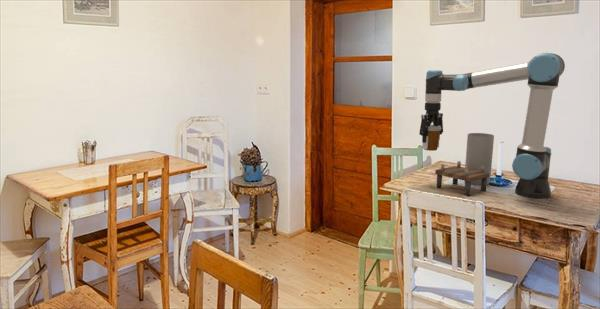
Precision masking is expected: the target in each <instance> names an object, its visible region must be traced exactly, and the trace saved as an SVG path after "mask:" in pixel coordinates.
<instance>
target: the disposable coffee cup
mask: <svg viewBox="0 0 600 309" xmlns="http://www.w3.org/2000/svg"><path fill="white" fill-rule="evenodd" d="M426 127H428V126H426ZM441 129H442V128H441V126H440V125H438V126H434V125H433V124H431V125H430V127H428V134H427V136H428V149H423V150H425V151H433V152H434V151H437V150H438V148H437V147H438V142H439V143H440V140H439V136H440V137H441V134H440V131H441Z"/></svg>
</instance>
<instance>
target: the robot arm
mask: <svg viewBox="0 0 600 309" xmlns="http://www.w3.org/2000/svg"><path fill="white" fill-rule="evenodd" d="M565 67H566V64H565V61H564V59H563V58H562V57H561V56H560V55H558V54H556V53H552V52H541V53H538V54H536V55H535V56H533V58H531V59H530V60H529V61H528V62H523V63H519V64H513V65H506V66H501V67H496V68H490V69H485V70H484V69H483V70H479V71H474V72H467V73H461V74H444V73H443V71H442V70H439V69H438V70H432V69H431V70H427V71H426V77H425V95H424V98H425V103H424V111H425V114H420V115H421V116H420V118H421V122H420V128H419V135H420V136H421V138H422V139H421V144H422V148H421V149H422V150H424V149H428V136H427V134H428V127H430V125H434V126H438V125H440V126H441V128H442V129H441V131H440V136H439V142H438V147H437V149H438V148H439V147H440V140H441V135H442V134H443V133H444V126H443V125H444V124H443V123H444V121H443V120H444V119H443V117H444V114H443V112H440V111H441V107H442V106H441V105H442V104H441V102H442V91H453V92H454V91H455V92H462V91H463V92H464V91H466V90H470V89H474V88H480V87H488V86H493V85H500V84H501V85H502V84H507V83H513V82H520V81H521V82H522V81H527V86H528V87H529V89H530V91H529V98H528V104H527V109H526V110H527V111H526V114H525V122H524V123H525V124H524V127H523V128H524V129H523V135H522V140H521V143H520V144H519V145H517V148H516V153H515V157H514V159H513V161H512V164H511V165H512V166H511V167H512V171H513V173H514V174H515V175H516V176H517V178H519V179H518V182H517V183H516V186H515V190H514V193H515V194H516V195H517V196H521V197H525V198H530V199H549V198H551V196H552V190H551V185H550V182H549V177H550V176H549V175H550V174H549V173H550V164H551V159H552V158H551V156H552V149H551V148H550V147H548V146H545V145H544V144H545V139H546V133H547V129H548V128H547V127H548V121H549V116H550V111H551V104H552V97H553V92H554V90H556V89H557V88H558V86H559V82H560V76H562V75H563V73H564V71H565V69H566V68H565ZM426 126H428V127H426ZM439 149H440V148H439Z"/></svg>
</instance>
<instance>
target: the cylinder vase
mask: <svg viewBox="0 0 600 309" xmlns="http://www.w3.org/2000/svg"><path fill="white" fill-rule="evenodd" d="M466 138H467V139H466V152H465V154H466V155H465V166H464V168H468V169H473V170H478V171H480V169H481V166H484V172H487V173H489V177H487V186H489V185H490V184H489V182H490V183H491V179H492V176H491V175H492V168H493V167H492V165H493V164H492V163H493V153H494V142H495V140H494V139H495V135H494V134H491V133H485V132H484V133H482V132H470V133H467V137H466ZM481 181H482V179H479V180H475V181H471V185H472V186H478V187H479V186H480V187H481ZM465 182H466V181H464V183H465Z"/></svg>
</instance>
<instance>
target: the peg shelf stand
mask: <svg viewBox="0 0 600 309" xmlns="http://www.w3.org/2000/svg"><path fill="white" fill-rule="evenodd" d="M456 164H457V165H455V166H448V167H445V164H443V163H442V164H440V168H439V169H435V171H434V172H435V175H436V186H435V187H436V189H437V190H439V189H441V190H442V184H443V177H447V178H450V179H452V185H454V186H457V185H458V182H459V181H458V180H460V181H464V183H465V184H464V186H465V187H464V196H466V197H469V196H471V187H472V186H471V181H475V180H479V179H482V181H481V186H480V192H487V186H488V185H487V177H489V173H487V172H484V166H481V169H480V171H478V170H473V169H468V168H465V167H463V166H462V167H461V165H462V161H459V160H457V162H456ZM465 181H466V182H465Z"/></svg>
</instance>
